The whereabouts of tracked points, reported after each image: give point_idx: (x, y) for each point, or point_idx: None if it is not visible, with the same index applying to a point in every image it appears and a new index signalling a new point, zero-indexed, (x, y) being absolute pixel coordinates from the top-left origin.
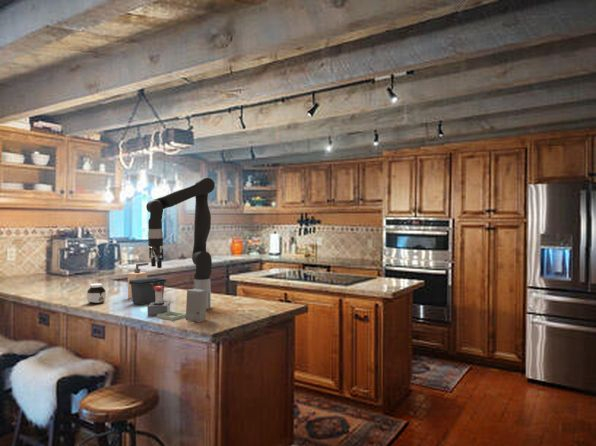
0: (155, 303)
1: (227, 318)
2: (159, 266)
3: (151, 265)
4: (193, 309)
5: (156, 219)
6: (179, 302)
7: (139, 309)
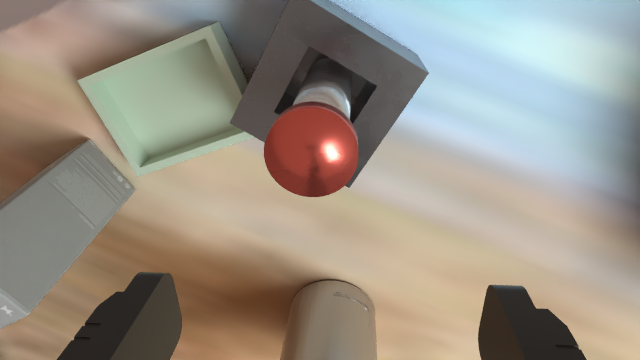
0: (374, 89)
1: (66, 294)
2: (107, 312)
3: (516, 295)
4: (11, 194)
5: None
6: (577, 298)
7: (616, 30)
